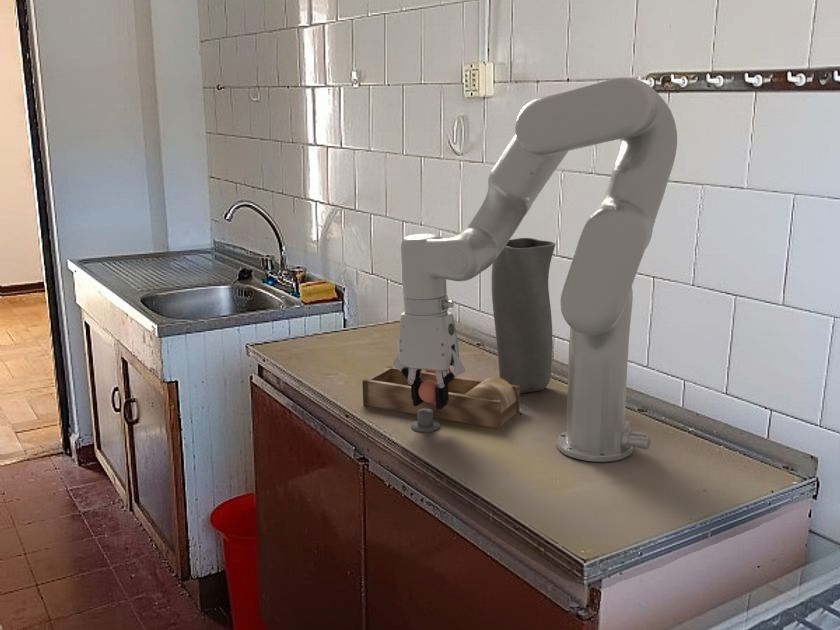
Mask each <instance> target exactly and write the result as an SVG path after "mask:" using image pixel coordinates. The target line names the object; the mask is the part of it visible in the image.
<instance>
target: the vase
mask: <svg viewBox="0 0 840 630" xmlns="http://www.w3.org/2000/svg"><path fill="white" fill-rule="evenodd" d="M555 247H556V243H555V242H554V241H550V240H542V239H536V238H532V237H519V238H514V239H512V238H511V239H510V240H509V241H508V243H507V244H506V246H505V247H504V249H503V250H502V251H501V253H500V254H499V256H498V257H497V258H496V260H495V261H494V262H493V263H492V265H491V266H492V267H491V299H492V301H491V302H492V311H493V319H494V320H493V321H494V329H495V339H496V348H497V349H496V350H497V360H498V361H497V362H498V372H499V373H498V374H499V378H501V379H503V380H505V381H507V382H508V383H509V384H511V385H517V386H520V395H521V394H525V393H533V392H538V391H542V390H543V389H545V388H546V387H548V386H549V383H550V382H551V375H552V373H551V372H552V364H553V341H554V340H553V337H554V336H553V335H554V334H553V320H552V318H553V317H552V308H551V300H550V299H551V298H550V290H549V277H550V276H549V274H550V269H551V268H550V267H551V263H552V259H553V255H554V250H555Z"/></svg>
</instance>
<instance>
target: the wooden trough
mask: <svg viewBox="0 0 840 630" xmlns="http://www.w3.org/2000/svg"><path fill="white" fill-rule="evenodd" d="M421 380H423V382H424V381H426V380H433V381H435V382H437V378H436V374H435V373H431V372H425V370H424V371H423V370H422V371H421ZM448 394H449V401H448V403H447V405H446V406H444V407H443V408H442V409H437V408H436V401H434V402H431V403H429V402H425V401H424V402H422V403H421V404H419V405H418V406H413V400H412V397H411V385H410V384H409V383H408V380H407V378H406V377H405V376H404V375H403V374H402V372H401V371H399V370H398V369H397V368H395V367H394V366H389V365H388V366H386V367H384V368H383V369H381V370H378V371H376V372H375V373H374V374H371V375H370V376H368V377H366V378H364V379H362V404H363V406H368V407H373V408H379V409H385V410H389V411H390V410H391V411H395V412H402V413H408V414H411V415H412V414H414V415H418V414H417V411H418V410H420V409H431V410H433V418H437V419H442V420H447V421H452V422H460V423H464V424H471V425H476V426H481V427H488V428H492V429H501V427H502V426H503V425H504V424H505V423H506V422H507V421H508V420H509V419H511V418H512V417H513V416H515V414H517V413H519V412H520V397H521V396H520V395H521V394H520V386H517V385H511V384H509V383H508V382H507V381H505V380H503V379H501V378H500V377H496V376H493V377H488V378H485V379H484V380H483V379H477V378H476V379H475V378H472V377H471V378H470V377H465V376H464V377H463V376H457V377H455V378H454V379H453V380H452V381H451V382H450V383H449V384H448Z"/></svg>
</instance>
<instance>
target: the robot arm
mask: <svg viewBox="0 0 840 630" xmlns="http://www.w3.org/2000/svg"><path fill="white" fill-rule="evenodd" d="M675 120H676V119H675V118H674V115H673V113H672V110H671V109H670V107H669V105H668V104H667V103H666V101H665V100H664V99H663V97H662V96H661V95H660V94H659V93H658V92H657V91H656V90H655V89H654V88H653V87H652V86H650V85H649V84H647V83H646V82H644V81H642V80H641V79H636V78H631V77H630V78H628V77H627V78H626V77H617V78H612V79H608V80H603V81H600V82H597V83H593V84H589V85H586V86H582V87H578V88H575V89H572V90H571V89H570V90H567V91H564V92H560V93H556V94H550V95H547V96H541V97H538V98H535V99H533V100H531V101H530V102H528V103H527V104H525V105H524V106H523V107H522V108H521V109H520V111H519V114H518V115H517V118H516V120H515V124H514V125H515V127H514V129H515V131H514V132H515V133H514V134H515V135H514V136H513V137H512V139H511V141H510V142H509V143H508V144H507V146H506V148H505V149H504V151H503V152H502V154H501V155H500V157H499V159H498V160H497V161H496V163H495V164H494V165H493V167H492V169H491V171H490V173H489V176H488V177H487V178H488V180H487V181H488V182H487V184H488V186H487V187H488V188H487V192H486V196H485V198H484V200H483V202H482V204H481V205H480V207H479V209H478V210H477V212H476V213H475V215H474V217H473V218H472V220H471V221H470V222H469V224H468V226H467V227H466V228H465V230H464V231H462V232H461V233H459V234H456V235H455V236H451V237H448V238H443V237H442V236H440V235H439V234H436V233H414V234H408V235H407V236H404V238H402V240H401V244H400V258H401V275H402V290H403V291H402V293H403V294H402V295H403V309H404V310H403V312H402V313H401V315H400V321H399V330H398V353H397V355H396V357H395V359H394V360H393V362H392V367H395V368H397V369H398V370H399V371H401V372H402V374H403V375H404V376H405V377H406V378H407V380H408V383H409V384H410V385H411V397H412V400H413V406H418V405H419V404H421V403H422V402H424V401H423V400H422V399H421V398H420V396H419V392H418V390H419V387H420V385H421V384H422V383H423V380H421V371H423V370H424V371H425V370H431V371H435V374H436V378H437V383H438V387H437V388H436V389H435V394H436V408H437V409H442V408H443V407H444V406H446V405H447V403H448V401H449V394H448V384H449V383H450V382H451V381H452V380H453V379H454V378H455V377H459V376H460V375H462V374H464V373H465V372H466V367H465V366H464V364H463V362H462V361H461V359H460V351H459V349H460V348H459V341H458V332H457V326H456V322H455V318H454V316H453V315H454V314H453V312H452V311H448V310H449V309H453V308H454V306H455V303H454V300H450V299H449V297H448V293H447V291H448V290H447V280H448V281H454V282H467V281H470V280H472V279H474V278H475V277H476V276H479V274H481V273H482V272H483V271H485V270H487V269H488V268H489V267H491V266H492V264H493V262H494V261H495V260H496V258H497V257H498V256H499V254H500V253H501V251H502V250H503V249H504V247H505V246H506V244H507V243H508V241H509V240H511V239H512V238H513V235H514V234H515V233H516V231H517V230H518V228H519V226H520V224H521V223H522V221H523V219H524V217H526V215H527V214H528V212H529V211H530V209H531V207H532V205H533V204H534V202H535V201H536V199H537V197H539V194H540V193H541V192H542V191H543V188H544V187H545V185H547V182H548V181H549V180H550V178H551V177H552V175H553V174H554V172H555V171H556V170H557V168H558V166H559V165H560V164H561V163H562V161H563V160H564V158H565V157H566V156H567V154H568V153H569V152H570V151H573V150H578V149H582V148H587V147H591V146H594V145H599V144H603V143H608V142H612V141H615V140H620V141H619V142H620V145H619V146H620V148H619V152H618V155H617V158H616V161H615V163H614V166H613V169H612V171H611V175H610V178H609V179H610V180H609V182H608V185H607V188H606V191H605V194H604V196H603V199H602V201H601V204H600V206H599V207H598V208H597V209H596V210H594V212H593V213H592V214H591V215H590V216H589V217H588V219H587V220H586V221H585V224H584V226H583V229H582V231H581V234H580V236H579V239H578V242H577V246H576V249H575V250H574V251H575V252H574V255H573V258H572V260H571V263H570V266H569V270H568V273H567V276H566V279H565V282H564V284H563V288H562V291H561V295H560V300H559V301H560V302H559V303H560V304H559V305H560V310H561V311H560V312H561V313H562V317H563V319H564V320H565V322H566V324H567V325H568V326H569V327H570V329H569V342H568V343H569V344H568V368H567V369H568V370H567V373H568V374H567V395H566V397H567V398H566V401H567V403H566V404H567V405H566V428H565V429H566V431H563V432H562V433H560V434H558V436H557V437H556V447H557V449H558V450H559V452H561V453H562V454H564V455H565V456H568V457H569V458H570V457H571V458H573V459H576V460H581V461H585V462H594V463H595V462H596V463H604V462H605V463H606V462H607V463H608V462H615V461H620V460H623V459H625V458H627V457H629V456H631V454H632V453H633V451H634V448H636V449H641V450H649V449H650V446H651V445H650V444H651V438H650V437H647V433H646V432H640V431H633V429H631V428H630V423H631V422H630V421H627V420H626V404H627V403H626V402H627V400H626V399H627V385H628V384H627V380H628V362H629V344H630V331H631V319H632V311H633V310H632V309H633V301H634V299H633V298H634V297H633V284H634V281H635V279H636V276H637V273H638V270H639V267H640V265H641V262H642V259H643V257H644V254H645V252H646V250H647V248H648V246H649V244H650V241H651V240H652V236H653V229H654V226H655V223H656V220H657V216H658V214H659V210H660V207H661V204H662V203H663V202H662V201H663V199H664V196H665V193H666V192H665V191H666V189H667V185H668V184H669V183H668V182H669V180H670V177H671V174H672V170H673V167H674V164H675V161H676V160H675V159H676V154H677V149H678V133H677V132H678V131H677V125H676V121H675ZM451 366H452V367H453V370H451V372H450V373H449V370H448V369H449V368H450V369H451Z"/></svg>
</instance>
